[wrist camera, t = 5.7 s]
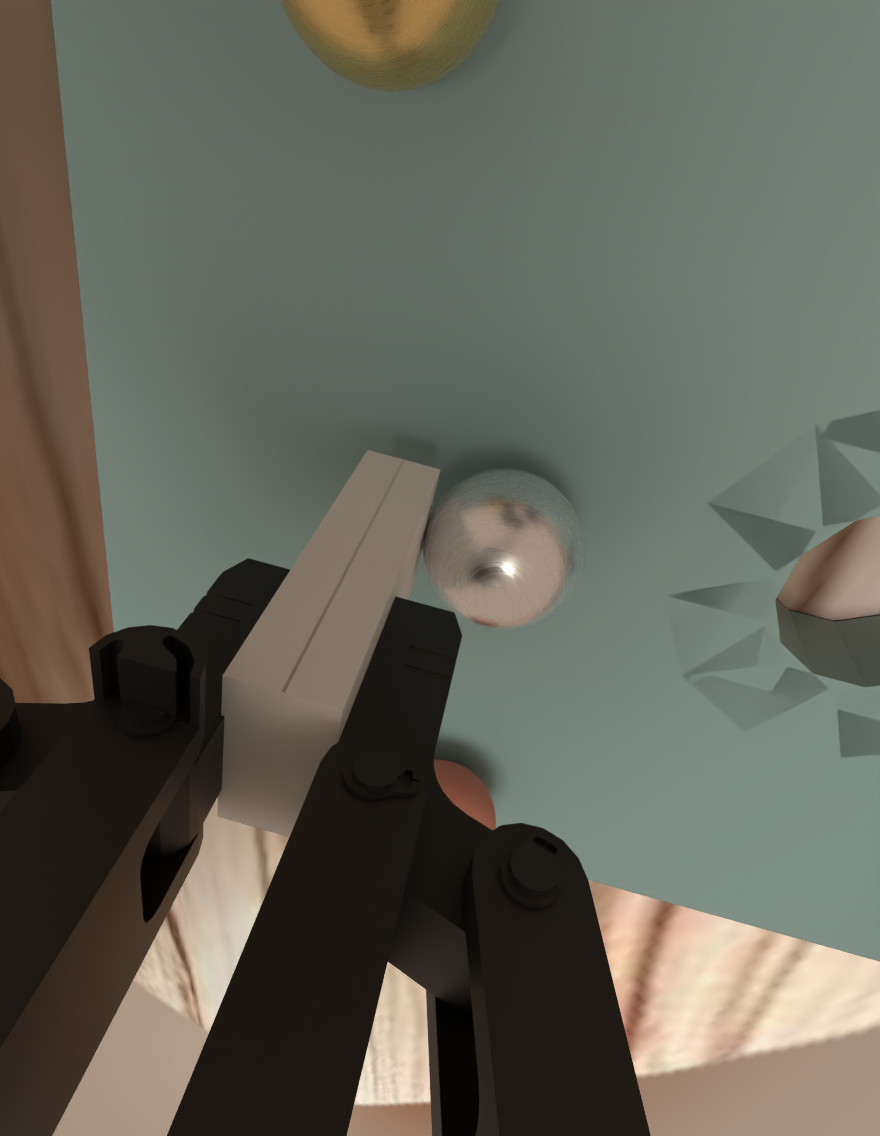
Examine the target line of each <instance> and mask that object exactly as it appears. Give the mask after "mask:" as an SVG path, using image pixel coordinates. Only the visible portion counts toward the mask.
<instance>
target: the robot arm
mask: <svg viewBox="0 0 880 1136" xmlns="http://www.w3.org/2000/svg"><path fill="white" fill-rule="evenodd" d="M440 470H441V469H437V468H433V467H430V466H426V465H422V464H418V463H415V462H411V461H407V460H403V459H400V458H396V457H392V456H388V455H385V454H381V453H377V452H373V451H370V450H367V452H366V453H365V455H364V456H363V458H362V459H361V461H360V463H359V464H358V466H357V467H356V469H355V470H354V472H353V473H352V475H351V477H350V478H349V480H348V481H347V483H346V484H345V486H344V487H343V489H342V491H341V492H340V494H339V495H338V497H337V498H336V500H335V501H334V503H333V505H332V506H331V508H330V509H329V511H328V512H327V514H326V515H325V517H324V519H323V520H322V522H321V523H320V525H319V526H318V528H317V529H316V531H315V533H314V534H313V536H312V537H311V539H310V540H309V542H308V543H307V545H306V547H305V548H304V550H303V551H302V553H301V554H300V556H299V557H298V559H297V561H296V562H295V564H294V565H293V567H292V568H291V570H290V569H286V568H283V567H279V566H275V565H272V564H268V563H264V562H261V561H257V560H253V559H250V558H247V559H246V560H244V561H242V562H240V563H238V564H236V565H235V566H233V567H231V568H229V569H227V570H225V571H224V572H222V573H221V575H220V576H219V577H218V578H217V580H216V581H215V582H214V584H213V585H212V586H211V587H210V589H209V590H208V591H207V594H206V596H203V598H202V599H201V600H200V601H199V603H198V604H197V605H196V606H195V608H194V611H193V613H190V614H189V615H188V617H187V618H186V619H185V620H184V622H183V623H182V624H181V626H180V627H179V628H178V629H177V630H176V629H174V628H169V627H162V626H155V625H146V626H137V627H127V628H125V629H122V630H119V631H117V632H114V633H111V634H108V635H106V636H104V637H103V638H102V639H100V640H99V641H98V642H96V643H95V644H94V645H92V646H91V647H90V648H89V652H90V661H91V670H92V679H93V688H94V697H95V699H94V700H93V701H89V702H84V703H69V704H51V703H15V700H14V695H13V691H12V689H11V688H10V687H9V686H8V685H7V684H6V683H5V682H4V681H3V680H1V679H0V1136H52V1135H53V1133H54V1131H55V1129H56V1127H57V1125H58V1123H59V1121H60V1120H61V1118H62V1115H63V1114H64V1112H65V1110H66V1108H67V1106H68V1104H69V1102H70V1100H71V1098H72V1096H73V1094H74V1093H75V1091H76V1089H77V1087H78V1085H79V1083H80V1081H81V1079H82V1077H83V1075H84V1073H85V1071H86V1069H87V1068H88V1066H89V1063H90V1062H91V1060H92V1058H93V1056H94V1054H95V1052H96V1050H97V1048H98V1046H99V1044H100V1042H101V1041H102V1039H103V1037H104V1035H105V1033H106V1031H107V1029H108V1027H109V1025H110V1023H111V1021H112V1019H113V1017H114V1015H115V1014H116V1012H117V1010H118V1008H119V1006H120V1004H121V1002H122V1000H123V998H124V996H125V994H126V992H127V991H128V989H129V987H130V985H131V983H132V981H133V979H134V977H135V975H136V973H137V971H138V969H139V967H140V966H141V964H142V962H143V960H144V958H145V956H146V954H147V952H148V950H149V948H150V946H151V944H152V942H153V940H154V939H155V937H156V935H157V933H158V931H159V929H160V927H161V925H162V923H163V921H164V919H165V917H166V915H167V914H168V912H169V910H170V908H171V906H172V904H173V902H174V900H175V898H176V896H177V894H178V892H179V890H180V889H181V887H182V885H183V883H184V881H185V879H186V877H187V875H188V873H189V871H190V869H191V867H192V865H193V864H194V862H195V860H196V858H197V856H198V854H199V850H200V847H201V843H202V840H203V823H204V821H205V819H206V817H207V815H208V813H209V811H210V810H211V808H212V806H213V804H214V802H215V800H216V798H217V797H218V817H221V818H225V819H228V820H232V821H235V822H239V823H242V824H246V825H249V826H253V827H256V828H260V829H263V830H267V831H270V832H273V833H277V834H280V835H284V836H287V837H289V840H288V842H287V844H286V847H285V849H284V852H283V854H282V857H281V859H280V862H279V864H278V866H277V869H276V871H275V874H274V876H273V879H272V881H271V883H270V886H269V888H268V891H267V893H266V896H265V898H264V900H263V903H262V905H261V908H260V910H259V913H258V915H257V918H256V920H255V922H254V925H253V927H252V930H251V932H250V935H249V937H248V939H247V942H246V944H245V947H244V949H243V952H242V954H241V957H240V959H239V961H238V964H237V966H236V969H235V971H234V974H233V976H232V978H231V981H230V983H229V986H228V988H227V991H226V993H225V995H224V998H223V1000H222V1003H221V1005H220V1008H219V1010H218V1013H217V1015H216V1017H215V1020H214V1022H213V1025H212V1027H211V1030H210V1032H209V1034H208V1037H207V1039H206V1042H205V1044H204V1047H203V1049H202V1051H201V1054H200V1057H199V1059H198V1061H197V1064H196V1066H195V1069H194V1071H193V1074H192V1076H191V1078H190V1081H189V1083H188V1086H187V1088H186V1090H185V1093H184V1095H183V1098H182V1101H181V1103H180V1105H179V1108H178V1110H177V1112H176V1115H175V1117H174V1120H173V1122H172V1125H171V1127H170V1129H169V1132H168V1134H167V1136H347V1131H348V1127H349V1123H350V1119H351V1114H352V1110H353V1106H354V1102H355V1097H356V1093H357V1089H358V1085H359V1080H360V1076H361V1072H362V1068H363V1064H364V1059H365V1055H366V1051H367V1047H368V1042H369V1038H370V1034H371V1030H372V1025H373V1021H374V1017H375V1013H376V1008H377V1004H378V1000H379V996H380V991H381V987H382V983H383V979H384V974H385V970H386V966H387V962H389V963H391V964H392V965H393V966H395V967H396V968H398V969H399V970H400V971H402V972H403V973H404V974H406V975H407V976H408V977H410V978H411V979H413V980H414V981H415V982H417V983H418V984H419V985H421V986H422V987H424V988H425V989H426V997H427V1021H428V1045H429V1069H430V1093H431V1115H432V1116H431V1117H432V1136H650V1132H649V1127H648V1123H647V1119H646V1115H645V1111H644V1107H643V1103H642V1099H641V1095H640V1091H639V1087H638V1082H637V1078H636V1074H635V1070H634V1066H633V1062H632V1058H631V1054H630V1050H629V1046H628V1041H627V1037H626V1033H625V1029H624V1025H623V1021H622V1017H621V1013H620V1009H619V1005H618V1000H617V996H616V992H615V988H614V984H613V980H612V976H611V972H610V968H609V964H608V959H607V955H606V951H605V947H604V943H603V939H602V935H601V931H600V927H599V923H598V918H597V914H596V910H595V906H594V902H593V898H592V894H591V890H590V886H589V882H588V878H587V876H586V874H585V871H584V869H583V867H582V865H581V862H580V860H579V858H578V857H577V856H576V854H575V853H574V852H573V851H572V850H571V849H570V848H569V847H568V845H567V844H566V843H565V842H564V841H563V840H562V839H560V838H559V837H557V836H555V835H554V834H552V833H550V832H549V831H547V830H545V829H544V828H541V827H537V826H533V825H529V824H525V823H515V824H506V825H501V826H499V827H497V828H496V829H494V830H491V829H490V828H488V827H486V826H485V825H483V824H482V823H480V822H478V821H477V820H475V819H474V818H472V817H471V816H469V815H467V814H466V813H465V812H463V811H462V810H461V809H460V808H458V807H457V806H456V805H454V804H453V802H452V801H451V800H450V799H449V798H448V796H447V795H446V794H445V793H444V792H443V790H442V788H441V786H440V784H439V782H438V780H437V778H436V773H435V768H434V755H435V749H436V745H437V741H438V736H439V732H440V728H441V724H442V719H443V715H444V711H445V707H446V702H447V698H448V694H449V690H450V686H451V681H452V677H453V673H454V669H455V664H456V660H457V656H458V652H459V647H460V643H461V639H462V633H461V630H460V627H459V624H458V621H457V618H456V615H455V612H451V611H447V610H444V609H440V608H436V607H433V606H429V605H425V604H422V603H418V602H414V601H411V600H409V597H410V594H411V591H412V589H413V586H414V583H415V580H416V576H417V571H418V567H419V562H420V558H421V553H422V549H423V540H424V535H425V531H426V527H427V524H428V521H429V518H430V514H431V509H432V505H433V501H434V496H435V492H436V487H437V483H438V479H439V474H440Z"/></svg>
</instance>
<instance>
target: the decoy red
mask: <svg viewBox="0 0 880 1136" xmlns="http://www.w3.org/2000/svg"><path fill="white" fill-rule="evenodd" d="M434 768H435V773H436V778H437V780H438V782H439V784H440V786H441V788H442V790H443V792H444V793H445V794H446V795H447V796H448V798H449V799H450V800H451V801H452V802H453V804H454V805H456V806H457V807H458V808H460V809H461V810H462V811H463V812H465V813H466V814H467V815H469V816H471V817H472V818H474V819H475V820H477V821H478V822H480V823H482V824H483V825H485V826H486V827H488V828H490V829H491V830H494V829H496V815H495V808H494V804H493V801H492V798H491V796H490V794H489V792H488V790H487V788H486V787H485V785H484V784H483V782H482V781H481V780H480V779H479V778H478V777H477V776H476V775H475V774H474V773H473V772H472V771H471V770H469V769H468V768H466V767H464V766H462V765H460V764H458V763H455V762H452V761H448V760H441V759H434Z"/></svg>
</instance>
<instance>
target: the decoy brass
mask: <svg viewBox="0 0 880 1136" xmlns="http://www.w3.org/2000/svg"><path fill="white" fill-rule="evenodd" d="M499 1H500V0H280V2H281V5H282V7H283V9H284V12H285V13H286V15H287V17H288V19H289V21H290V23H291V25H292V26H293V28H294V30H295V31H296V32H297V34H298V35H299V37H300V38H301V40H302V41H303V42H304V44H305V45H306V46H307V47H308V48H309V49H310V50H311V52H312V53H313V54H314V55H315V56H316V57H317V58H318V59H319V60H320V61H321V62H322V63H323V64H324V65H326V66H327V67H328V68H329V69H330V70H332V71H333V72H335V73H336V74H338V75H339V76H341V77H342V78H344V79H346V80H348V81H350V82H352V83H354V84H357V85H359V86H363V87H366V88H369V89H372V90H378V91H384V92H402V91H408V90H413V89H417V88H420V87H423V86H426V85H429V84H431V83H433V82H435V81H437V80H439V79H441V78H443V77H445V76H446V75H447V74H449V73H450V72H451V71H453V70H454V69H456V68H457V67H458V66H459V65H460V64H461V63H462V62H463V61H464V60H465V59H466V58H467V57H468V56H469V55H470V54H471V52H472V51H473V50H474V49H475V47H476V46H477V45H478V44H479V42H480V40H481V39H482V37H483V36H484V34H485V32H486V31H487V29H488V27H489V25H490V23H491V21H492V19H493V17H494V15H495V12H496V10H497V7H498V4H499Z"/></svg>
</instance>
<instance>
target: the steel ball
mask: <svg viewBox="0 0 880 1136" xmlns="http://www.w3.org/2000/svg"><path fill="white" fill-rule="evenodd" d="M584 557H585V542H584V535H583V530H582V526H581V523H580V520H579V518H578V516H577V514H576V512H575V510H574V508H573V506H572V505H571V503H570V502H569V500H568V499H567V498H566V497H565V496H564V495H563V494H562V493H561V492H560V491H559V490H558V489H557V488H556V487H555V486H554V485H552V484H551V483H549V482H548V481H546V480H545V479H543V478H541V477H539V476H537V475H534V474H531V473H529V472H525V471H521V470H515V469H493V470H487V471H483V472H479V473H477V474H474V475H472V476H470V477H468V478H466V479H464V480H462V481H461V482H459V483H457V484H456V485H455V486H453V487H452V488H451V489H450V490H449V491H448V492H447V493H446V494H445V495H444V496H443V497H442V498H441V499H440V501H439V502H438V504H437V505H436V506H435V508H434V510H433V512H432V514H431V516H430V518H429V521H428V524H427V527H426V531H425V535H424V540H423V558H424V565H425V569H426V573H427V576H428V579H429V581H430V583H431V586H432V587H433V589H434V591H435V592H436V594H437V595H438V597H439V598H440V600H441V601H442V602H443V603H444V604H445V605H446V606H447V607H448V608H449V609H450V610H451V611H452V612H455V614H456V615H458V616H459V617H461V618H462V619H464V620H465V621H468V622H470V623H472V624H474V625H477V626H480V627H484V628H488V629H494V630H514V629H519V628H524V627H527V626H530V625H533V624H536V623H538V622H540V621H542V620H544V619H545V618H547V617H549V616H550V615H551V614H553V613H554V612H555V611H556V610H558V609H559V608H560V607H561V606H562V605H563V604H564V603H565V602H566V600H567V599H568V598H569V596H570V595H571V594H572V592H573V591H574V589H575V587H576V585H577V583H578V581H579V578H580V575H581V572H582V569H583V564H584Z"/></svg>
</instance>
